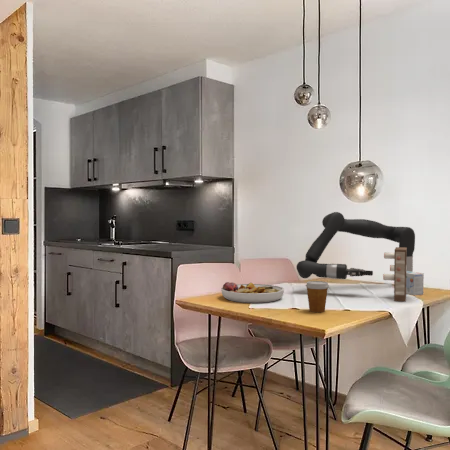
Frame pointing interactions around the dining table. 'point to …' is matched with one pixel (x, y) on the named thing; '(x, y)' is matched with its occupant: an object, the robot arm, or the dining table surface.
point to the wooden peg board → (400, 274)
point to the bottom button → (388, 277)
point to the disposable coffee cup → (317, 295)
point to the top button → (389, 255)
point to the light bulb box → (414, 283)
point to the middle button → (393, 267)
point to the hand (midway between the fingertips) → (372, 273)
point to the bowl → (251, 292)
